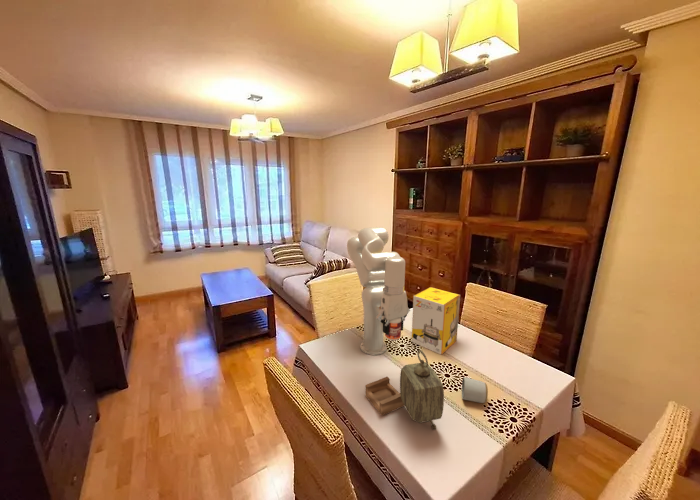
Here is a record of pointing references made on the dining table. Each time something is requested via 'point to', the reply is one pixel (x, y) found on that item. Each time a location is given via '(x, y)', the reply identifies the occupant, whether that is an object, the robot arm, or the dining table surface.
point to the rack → (383, 396)
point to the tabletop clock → (422, 391)
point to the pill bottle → (394, 329)
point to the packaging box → (435, 319)
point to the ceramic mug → (474, 390)
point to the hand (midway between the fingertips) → (393, 330)
